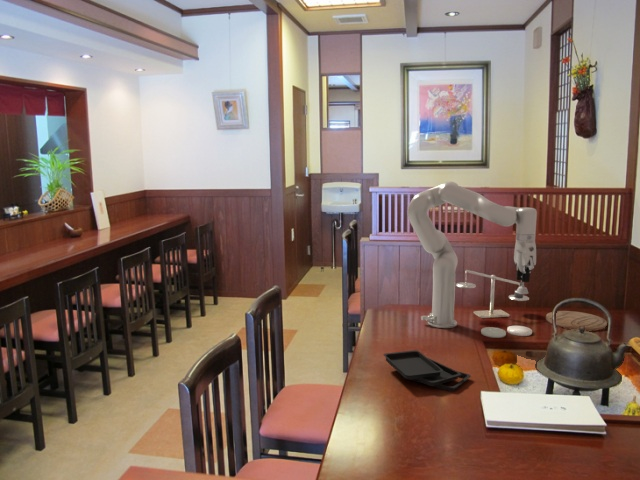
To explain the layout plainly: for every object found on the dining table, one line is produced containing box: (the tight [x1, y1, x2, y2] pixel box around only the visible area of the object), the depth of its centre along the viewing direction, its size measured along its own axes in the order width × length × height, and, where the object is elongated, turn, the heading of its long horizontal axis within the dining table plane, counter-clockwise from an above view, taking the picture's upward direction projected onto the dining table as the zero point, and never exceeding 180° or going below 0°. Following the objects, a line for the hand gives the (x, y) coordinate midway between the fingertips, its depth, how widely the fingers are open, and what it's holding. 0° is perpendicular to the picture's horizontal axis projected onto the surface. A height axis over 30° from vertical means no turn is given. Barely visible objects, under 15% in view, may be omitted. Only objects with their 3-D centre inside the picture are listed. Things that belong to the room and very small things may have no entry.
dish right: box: [506, 325, 533, 337], centre depth 239 cm, size 10×10×1 cm
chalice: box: [516, 250, 529, 295], centre depth 234 cm, size 7×7×18 cm
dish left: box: [480, 326, 507, 339], centre depth 236 cm, size 10×10×1 cm
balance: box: [455, 269, 530, 319], centre depth 261 cm, size 36×9×22 cm, turn 101°
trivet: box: [545, 310, 608, 330], centre depth 252 cm, size 25×25×2 cm
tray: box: [383, 349, 471, 392], centre depth 191 cm, size 30×23×5 cm
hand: (522, 280), depth 235 cm, fingers closed on chalice, 3 cm apart
